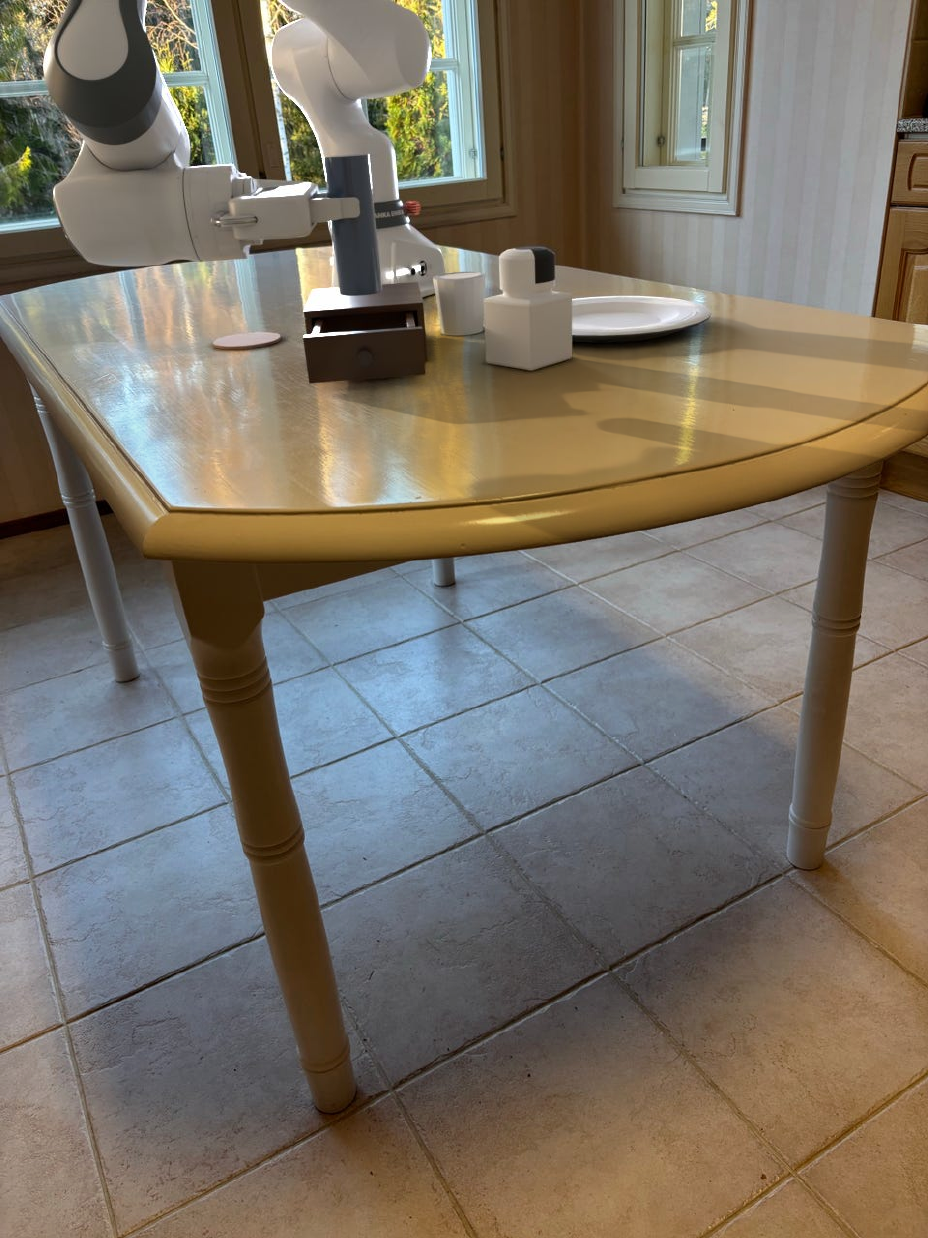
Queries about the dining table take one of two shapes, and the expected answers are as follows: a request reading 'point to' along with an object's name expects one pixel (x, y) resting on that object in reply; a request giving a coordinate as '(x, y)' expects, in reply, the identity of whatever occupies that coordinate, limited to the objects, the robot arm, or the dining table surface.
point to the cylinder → (354, 225)
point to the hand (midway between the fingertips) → (360, 203)
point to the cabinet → (367, 304)
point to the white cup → (460, 302)
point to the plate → (632, 318)
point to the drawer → (364, 347)
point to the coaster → (247, 340)
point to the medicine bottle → (528, 312)
